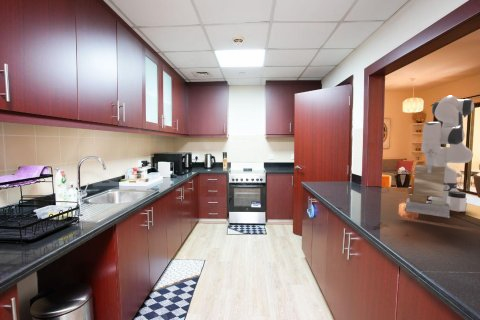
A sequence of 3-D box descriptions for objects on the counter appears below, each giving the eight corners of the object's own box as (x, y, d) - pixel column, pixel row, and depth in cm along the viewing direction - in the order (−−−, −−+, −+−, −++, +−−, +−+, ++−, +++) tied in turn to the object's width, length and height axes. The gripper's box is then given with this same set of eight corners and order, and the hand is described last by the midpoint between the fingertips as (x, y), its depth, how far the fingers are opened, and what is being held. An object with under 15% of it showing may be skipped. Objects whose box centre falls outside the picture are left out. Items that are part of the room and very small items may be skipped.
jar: (466, 212, 147) (468, 192, 146) (464, 214, 142) (465, 194, 141) (447, 209, 154) (448, 190, 153) (444, 211, 149) (445, 192, 148)
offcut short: (430, 211, 143) (431, 200, 142) (444, 213, 139) (445, 201, 138) (430, 212, 141) (431, 200, 140) (444, 214, 137) (445, 202, 137)
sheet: (413, 193, 151) (415, 165, 149) (442, 197, 142) (444, 166, 141) (413, 194, 149) (415, 165, 148) (442, 197, 141) (445, 167, 139)
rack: (407, 207, 156) (407, 197, 156) (447, 213, 144) (448, 202, 144) (405, 213, 144) (405, 202, 143) (449, 220, 131) (450, 208, 131)
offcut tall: (409, 208, 149) (410, 194, 148) (425, 210, 144) (426, 196, 143) (409, 209, 147) (409, 194, 147) (425, 211, 143) (426, 196, 142)
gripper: (438, 150, 133) (436, 174, 134) (437, 149, 149) (435, 171, 150) (423, 149, 137) (422, 173, 138) (424, 148, 153) (422, 170, 154)
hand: (429, 172), depth 144 cm, fingers closed on sheet, 2 cm apart
